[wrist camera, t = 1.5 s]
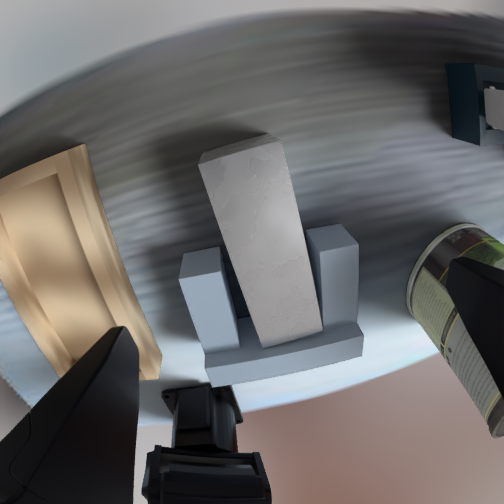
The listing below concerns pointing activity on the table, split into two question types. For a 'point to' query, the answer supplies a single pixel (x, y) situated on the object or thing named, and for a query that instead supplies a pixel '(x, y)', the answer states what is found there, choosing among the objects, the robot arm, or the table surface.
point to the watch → (476, 103)
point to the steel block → (263, 236)
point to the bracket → (243, 329)
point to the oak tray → (67, 263)
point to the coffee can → (456, 313)
